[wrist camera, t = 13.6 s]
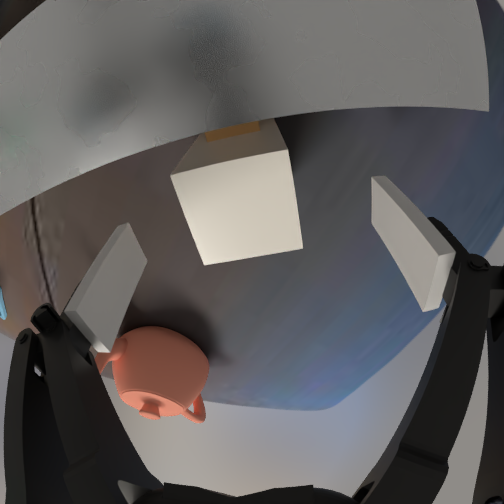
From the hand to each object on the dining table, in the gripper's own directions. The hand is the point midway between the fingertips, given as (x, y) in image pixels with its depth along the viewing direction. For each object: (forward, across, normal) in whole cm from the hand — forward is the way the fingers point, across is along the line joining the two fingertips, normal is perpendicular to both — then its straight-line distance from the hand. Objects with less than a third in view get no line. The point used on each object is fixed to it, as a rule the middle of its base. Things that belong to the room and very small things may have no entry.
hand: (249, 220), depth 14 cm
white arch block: (+6, 0, +9) cm, 11 cm away
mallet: (+6, 0, +8) cm, 11 cm away
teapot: (+7, -16, -19) cm, 26 cm away
